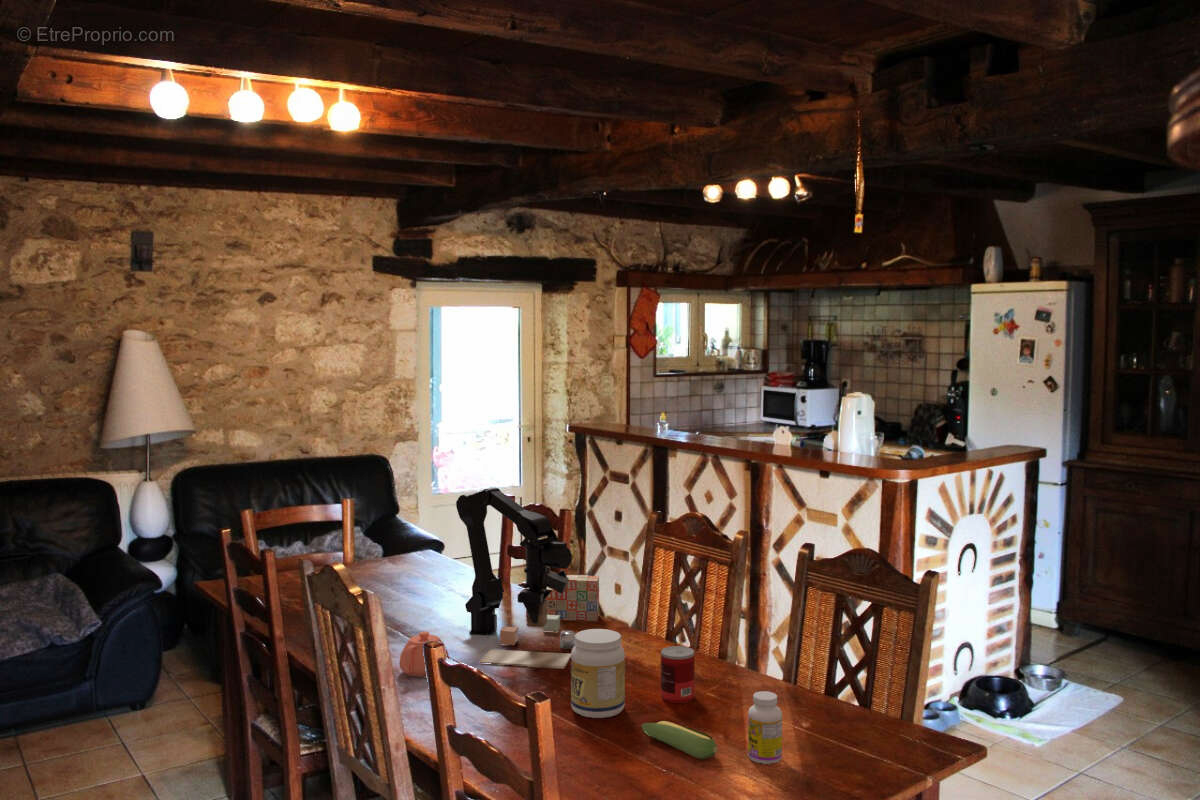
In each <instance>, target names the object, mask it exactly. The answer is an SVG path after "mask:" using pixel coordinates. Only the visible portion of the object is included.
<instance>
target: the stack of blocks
mask: <svg viewBox="0 0 1200 800" xmlns="http://www.w3.org/2000/svg"><path fill="white" fill-rule="evenodd" d="M567 577H568V579H569V581H568V583H567V586H566V589H565V590H564V592H563V593H559V592H557V591H556V590H553V589H551V588H549V587H547V590H552V592H551V593H550V594H549V595H548V596H547V597H546V599H545V601H547V615H560V619H568V620H567V621H577V620H583V621H582V622H597V621H598V619H599V616H600V608H599V607H600V576H599V575H589V574H588V575H587V574H578V575H577V574H571V575H570V574H567ZM525 589H529V588H525ZM525 613H526V614H525V618H527V610H526V609H525Z"/></svg>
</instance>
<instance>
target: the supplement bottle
mask: <svg viewBox="0 0 1200 800" xmlns="http://www.w3.org/2000/svg"><path fill="white" fill-rule="evenodd" d="M752 701H753V705H751V706H750V707H749V709H748V711H747V713H748V715H747V718H748V723H747V724H748V725H747V727H748V728H747V756H748V758H749V759H750V760H751V762H753V761H754V763H756V762H757V763H756V764H759V763H762V764H761V765H765V764H768V765H772V764H771V763H775V764H777V763H779V762H781V759H782V756H783V712H782V709H781V708H780V707H779V706H777V704H778V695H777V694H776V693H775V692H771V691H766V690H763V691H761V690H760V691H755V692H754V693H753V697H752Z"/></svg>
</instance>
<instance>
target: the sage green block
mask: <svg viewBox="0 0 1200 800" xmlns="http://www.w3.org/2000/svg"><path fill="white" fill-rule="evenodd" d="M559 628H560V629H561V620H560V615H547V623H546V625H545V626H544V627H542V629H543V631H553V632H557V631H558V630H559ZM543 631H542V632H543ZM559 631H560V630H559ZM559 631H558V632H559ZM558 632H557V633H558Z"/></svg>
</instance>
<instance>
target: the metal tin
mask: <svg viewBox="0 0 1200 800" xmlns="http://www.w3.org/2000/svg"><path fill="white" fill-rule="evenodd" d="M575 635H576V631H574V630H562V631H560V632H559V636H560V637H559V639H560V640H559V643H560V645H559V648H560V647H561V648H563V649H562V650H564V649H571V648H573V647H574V646H575V644H574V641H575ZM561 648H560V649H561ZM571 650H572V649H571Z"/></svg>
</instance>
